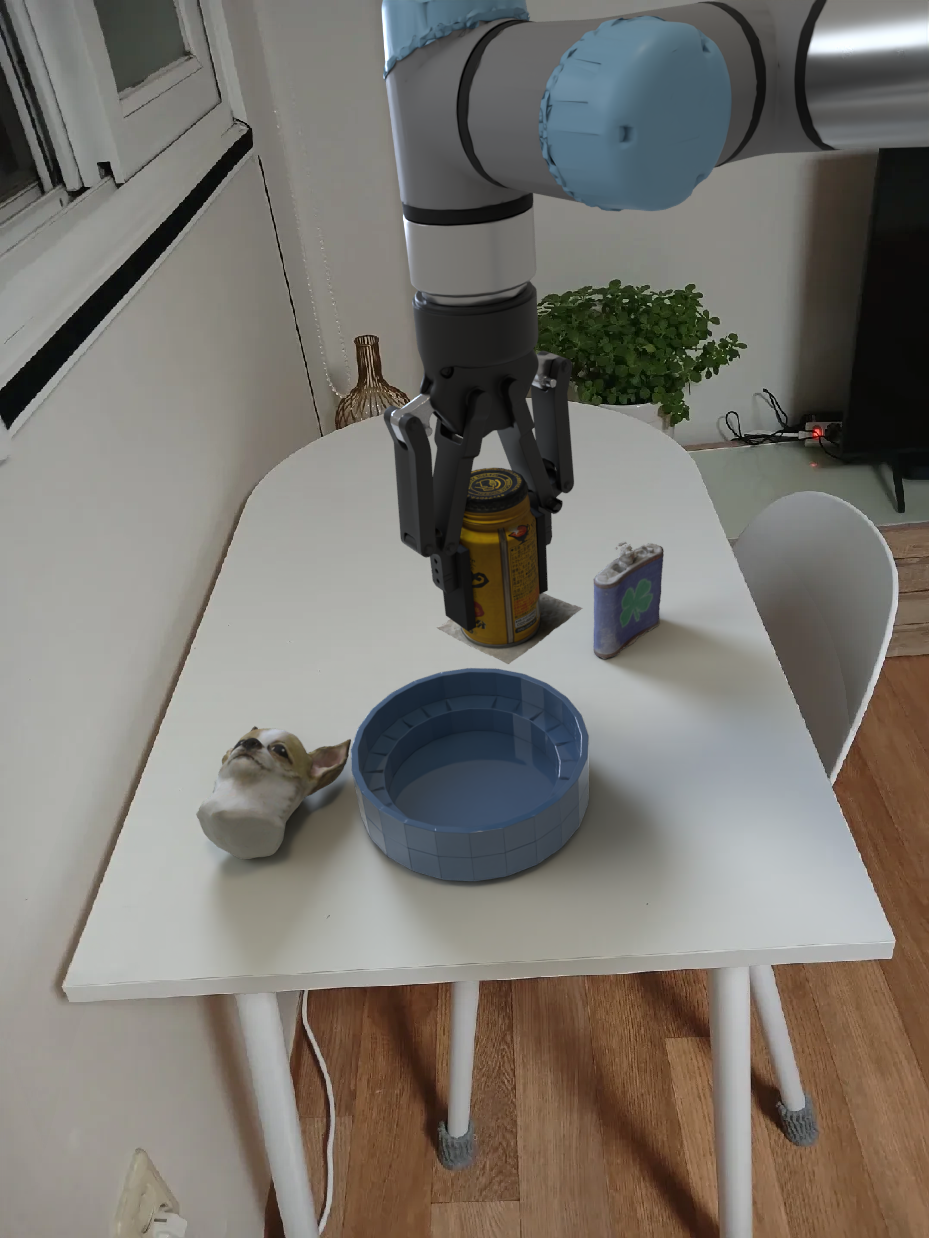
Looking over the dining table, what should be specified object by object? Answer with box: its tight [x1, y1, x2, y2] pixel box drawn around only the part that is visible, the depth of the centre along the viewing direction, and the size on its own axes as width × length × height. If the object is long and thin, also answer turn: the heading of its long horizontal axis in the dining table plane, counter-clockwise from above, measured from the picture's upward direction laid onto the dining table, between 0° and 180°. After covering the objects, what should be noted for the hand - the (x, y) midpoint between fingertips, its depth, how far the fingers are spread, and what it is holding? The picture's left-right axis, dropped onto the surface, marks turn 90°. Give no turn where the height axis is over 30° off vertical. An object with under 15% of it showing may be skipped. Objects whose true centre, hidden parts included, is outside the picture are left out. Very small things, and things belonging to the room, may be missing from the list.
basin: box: [350, 667, 590, 882], centre depth 79 cm, size 19×19×6 cm
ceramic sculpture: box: [195, 725, 352, 860], centre depth 79 cm, size 11×9×15 cm
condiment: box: [435, 467, 584, 665], centre depth 68 cm, size 7×8×12 cm
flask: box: [593, 541, 665, 660], centre depth 94 cm, size 9×3×11 cm, turn 133°
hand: (497, 602), depth 70 cm, fingers closed on condiment, 6 cm apart
